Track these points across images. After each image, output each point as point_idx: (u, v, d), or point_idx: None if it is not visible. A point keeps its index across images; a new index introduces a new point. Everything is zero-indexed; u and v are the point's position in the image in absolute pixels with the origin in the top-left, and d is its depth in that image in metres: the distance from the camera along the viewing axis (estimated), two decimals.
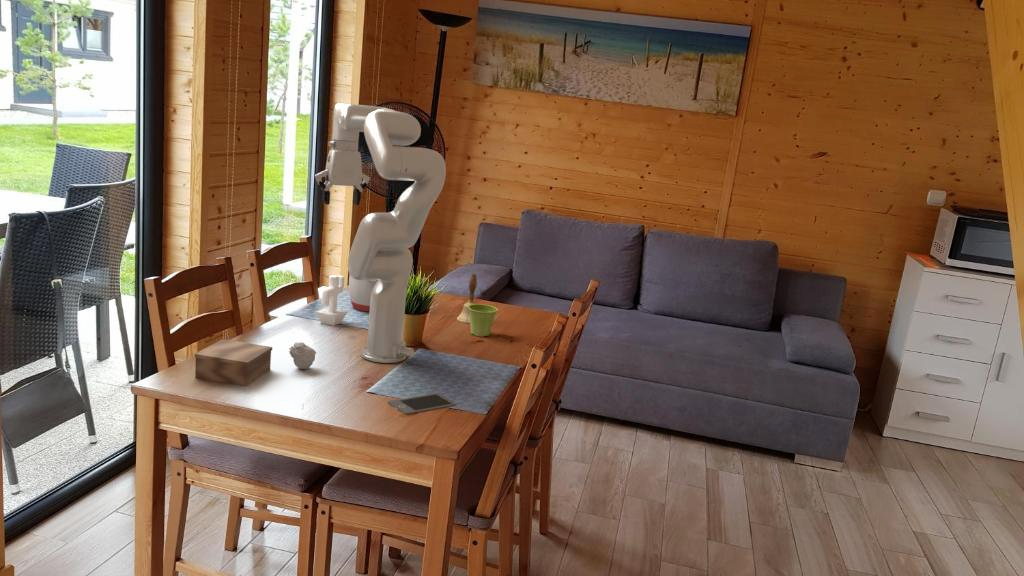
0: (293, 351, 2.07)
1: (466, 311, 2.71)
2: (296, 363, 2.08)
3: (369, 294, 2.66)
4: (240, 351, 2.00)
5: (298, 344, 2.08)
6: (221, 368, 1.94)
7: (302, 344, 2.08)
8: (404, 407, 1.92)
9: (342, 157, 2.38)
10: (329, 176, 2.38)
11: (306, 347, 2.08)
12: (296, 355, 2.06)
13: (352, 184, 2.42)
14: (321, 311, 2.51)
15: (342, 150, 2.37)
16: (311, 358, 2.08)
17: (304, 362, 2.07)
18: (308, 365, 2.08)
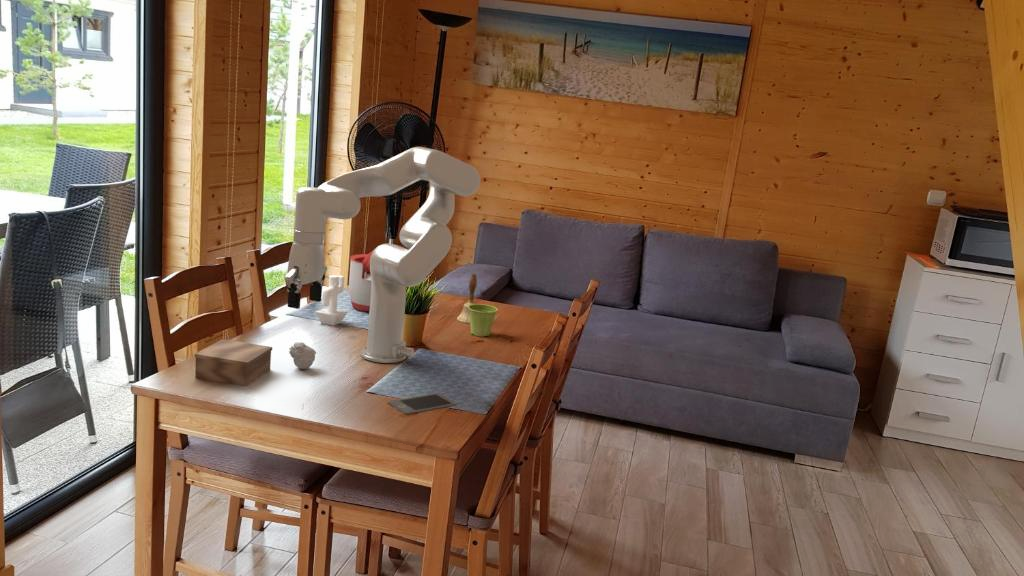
0: (293, 351, 2.07)
1: (466, 311, 2.71)
2: (296, 363, 2.08)
3: (369, 294, 2.66)
4: (240, 351, 2.00)
5: (298, 344, 2.08)
6: (221, 368, 1.94)
7: (302, 344, 2.08)
8: (404, 407, 1.92)
9: None
10: None
11: (306, 347, 2.08)
12: (296, 355, 2.06)
13: None
14: (321, 311, 2.51)
15: None
16: (311, 358, 2.08)
17: (304, 362, 2.07)
18: (308, 365, 2.08)
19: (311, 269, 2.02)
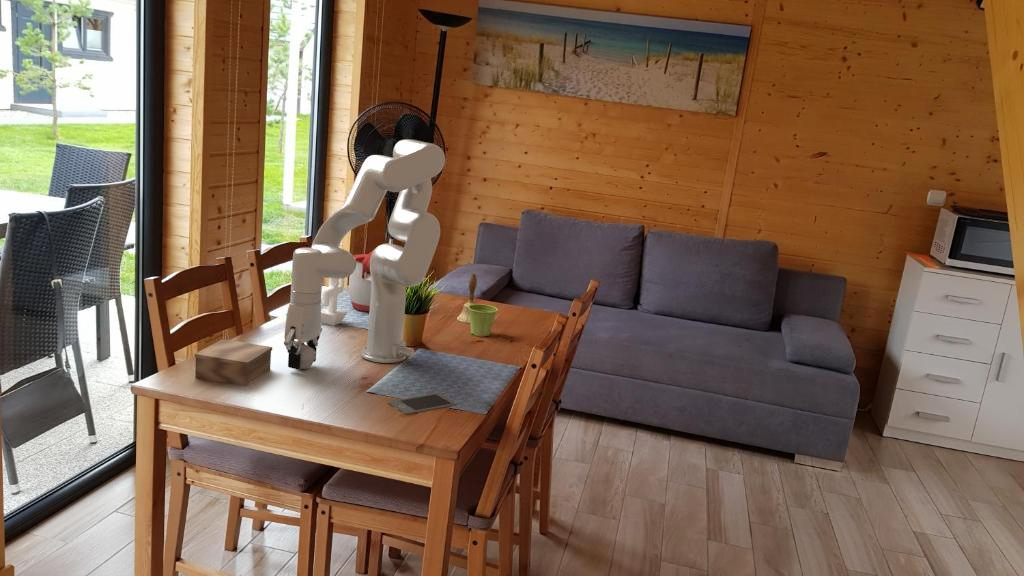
0: None
1: (466, 311, 2.71)
2: None
3: (369, 294, 2.66)
4: (240, 351, 2.00)
5: None
6: (221, 368, 1.94)
7: (302, 344, 2.08)
8: (404, 407, 1.92)
9: None
10: None
11: (306, 347, 2.08)
12: None
13: None
14: (321, 311, 2.51)
15: None
16: (311, 358, 2.08)
17: (304, 362, 2.07)
18: (308, 365, 2.08)
19: (308, 328, 2.05)
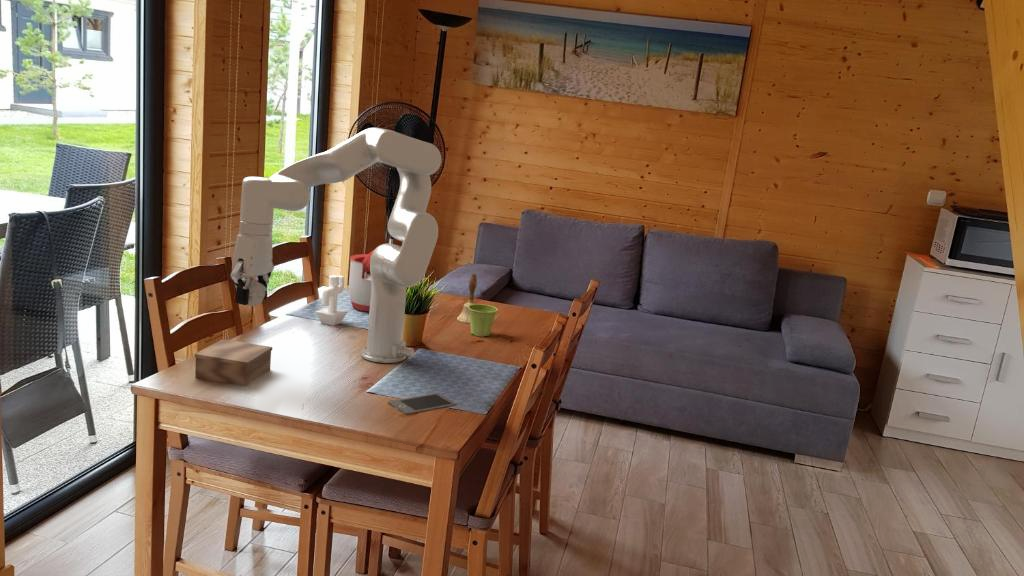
0: None
1: (466, 311, 2.71)
2: None
3: (369, 294, 2.66)
4: (240, 351, 2.00)
5: None
6: (221, 368, 1.94)
7: (251, 279, 1.97)
8: (404, 407, 1.91)
9: None
10: None
11: (256, 282, 1.97)
12: None
13: None
14: (321, 311, 2.51)
15: None
16: (261, 294, 1.97)
17: (253, 298, 1.96)
18: (257, 301, 1.98)
19: (257, 262, 1.94)
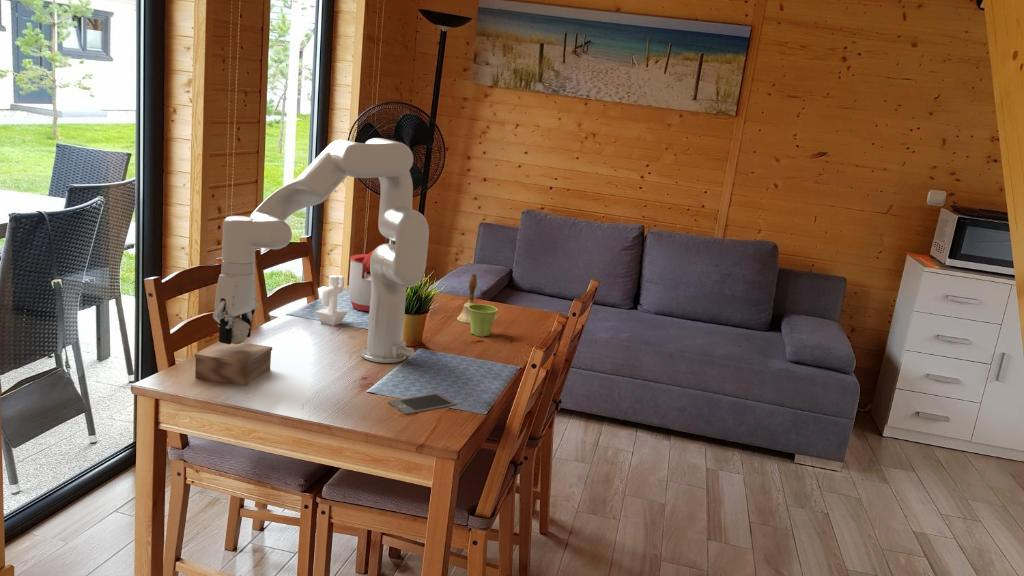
0: None
1: (466, 311, 2.71)
2: None
3: (369, 294, 2.66)
4: (240, 351, 2.00)
5: None
6: (221, 368, 1.94)
7: (234, 317, 1.97)
8: (404, 407, 1.91)
9: None
10: None
11: (239, 321, 1.98)
12: None
13: None
14: (321, 311, 2.51)
15: None
16: (244, 332, 1.97)
17: (236, 337, 1.97)
18: (241, 340, 1.98)
19: (240, 301, 1.95)
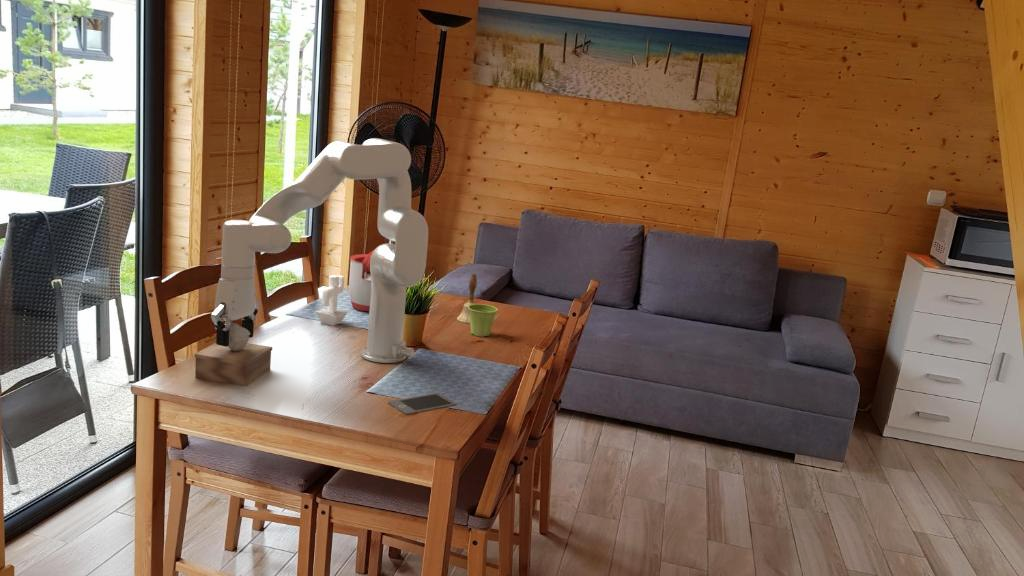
0: None
1: (466, 311, 2.71)
2: None
3: (369, 294, 2.66)
4: (240, 351, 2.00)
5: (230, 324, 1.97)
6: (221, 368, 1.94)
7: (234, 324, 1.98)
8: (404, 407, 1.91)
9: None
10: None
11: (239, 327, 1.98)
12: None
13: None
14: (321, 311, 2.51)
15: None
16: (244, 339, 1.98)
17: (237, 344, 1.97)
18: (241, 346, 1.98)
19: (240, 305, 1.95)
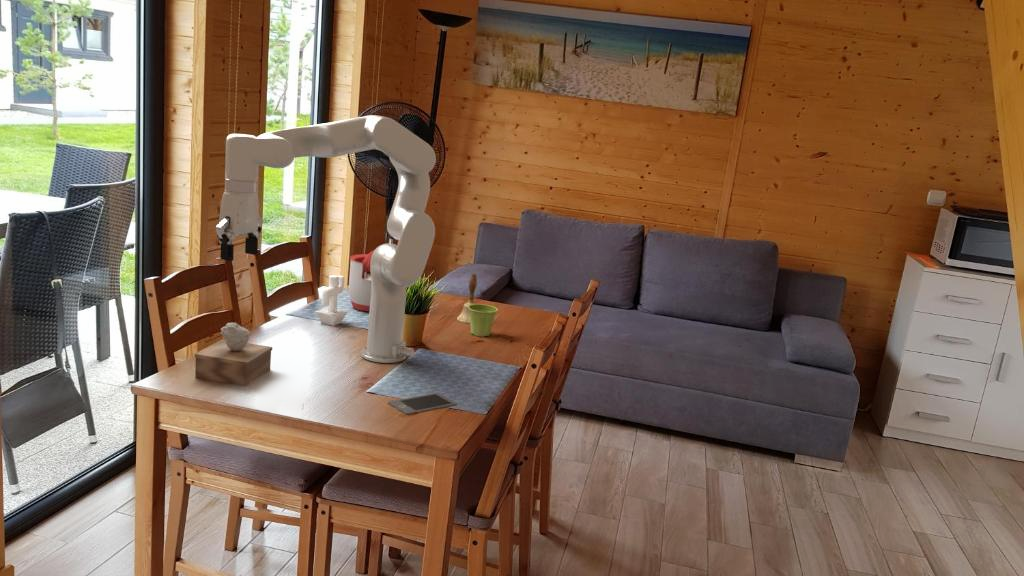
0: (224, 331, 1.96)
1: (466, 311, 2.71)
2: (228, 344, 1.98)
3: (369, 294, 2.66)
4: (240, 351, 2.00)
5: (230, 324, 1.97)
6: (221, 368, 1.94)
7: (234, 324, 1.98)
8: (404, 407, 1.91)
9: None
10: None
11: (239, 327, 1.98)
12: (228, 336, 1.96)
13: None
14: (321, 311, 2.51)
15: None
16: (244, 339, 1.98)
17: (237, 344, 1.97)
18: (241, 346, 1.98)
19: (244, 219, 1.94)
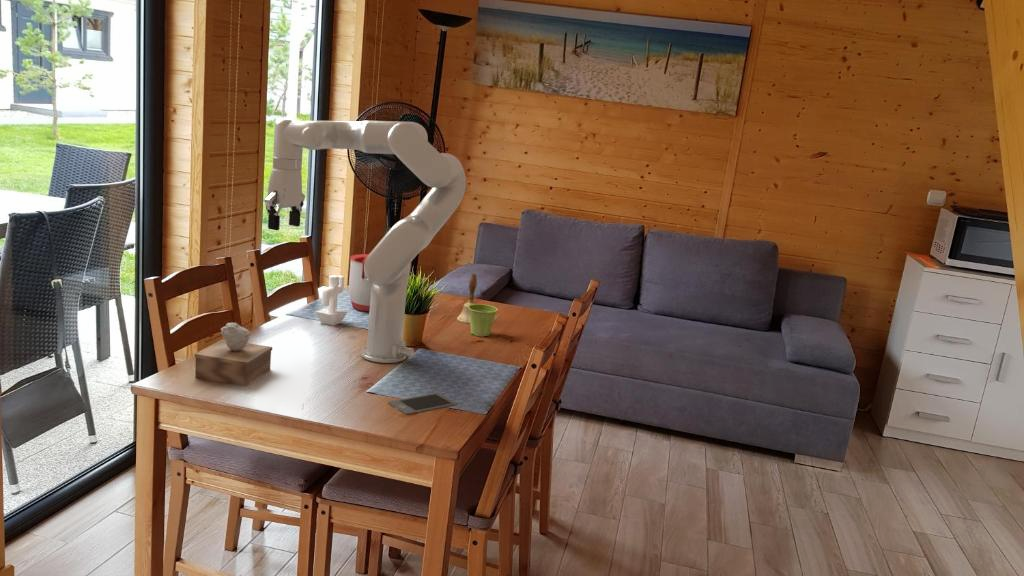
0: (225, 331, 1.96)
1: (466, 311, 2.71)
2: (228, 344, 1.98)
3: (369, 294, 2.66)
4: (240, 351, 2.00)
5: (230, 324, 1.97)
6: (221, 368, 1.94)
7: (234, 324, 1.98)
8: (404, 407, 1.91)
9: None
10: None
11: (239, 327, 1.98)
12: (228, 336, 1.96)
13: None
14: (321, 311, 2.51)
15: None
16: (244, 339, 1.98)
17: (237, 344, 1.97)
18: (241, 346, 1.98)
19: (289, 194, 2.19)
